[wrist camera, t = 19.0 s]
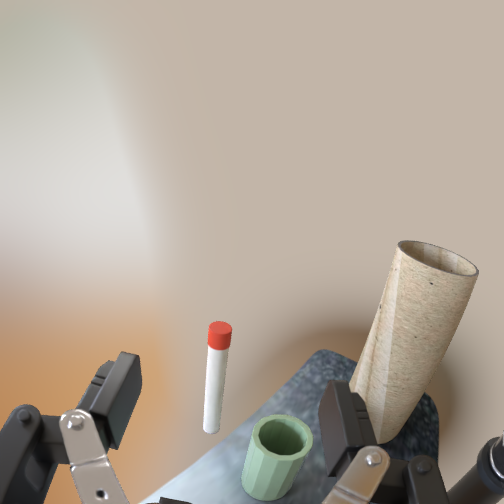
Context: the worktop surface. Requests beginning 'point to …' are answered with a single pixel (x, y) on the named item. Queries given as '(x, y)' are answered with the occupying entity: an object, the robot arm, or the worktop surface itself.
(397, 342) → the tube
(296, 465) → the green pencil holder
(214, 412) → the marker
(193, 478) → the worktop surface
